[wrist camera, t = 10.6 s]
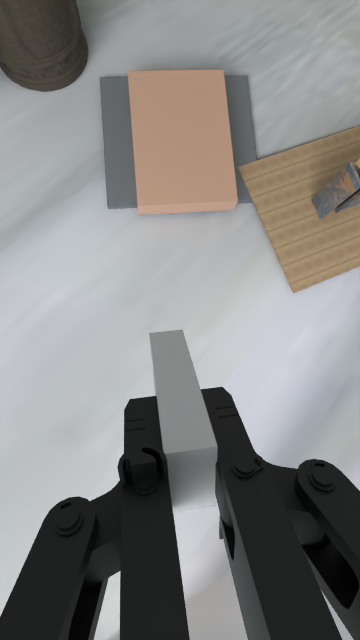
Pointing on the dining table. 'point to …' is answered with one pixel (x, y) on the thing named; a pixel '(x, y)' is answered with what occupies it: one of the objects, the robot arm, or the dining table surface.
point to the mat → (121, 139)
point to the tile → (181, 141)
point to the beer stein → (41, 43)
